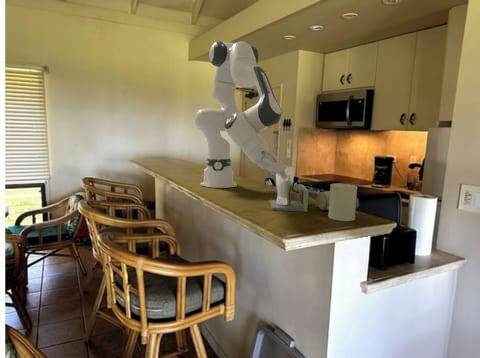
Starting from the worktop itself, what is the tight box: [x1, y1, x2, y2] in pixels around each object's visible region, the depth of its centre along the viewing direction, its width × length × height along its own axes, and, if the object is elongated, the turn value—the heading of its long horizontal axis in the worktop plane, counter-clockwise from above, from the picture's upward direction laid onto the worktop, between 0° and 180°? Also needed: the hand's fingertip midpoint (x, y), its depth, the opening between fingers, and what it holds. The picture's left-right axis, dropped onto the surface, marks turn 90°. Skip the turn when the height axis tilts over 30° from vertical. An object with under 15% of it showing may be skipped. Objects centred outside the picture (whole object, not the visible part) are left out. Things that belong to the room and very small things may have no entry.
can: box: [327, 182, 358, 222], centre depth 122 cm, size 9×9×12 cm
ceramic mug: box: [316, 190, 330, 211], centre depth 132 cm, size 11×8×8 cm
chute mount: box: [269, 183, 309, 212], centre depth 137 cm, size 14×13×8 cm
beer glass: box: [275, 164, 295, 206], centre depth 136 cm, size 7×7×15 cm
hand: (280, 176), depth 135 cm, fingers open, 8 cm apart
